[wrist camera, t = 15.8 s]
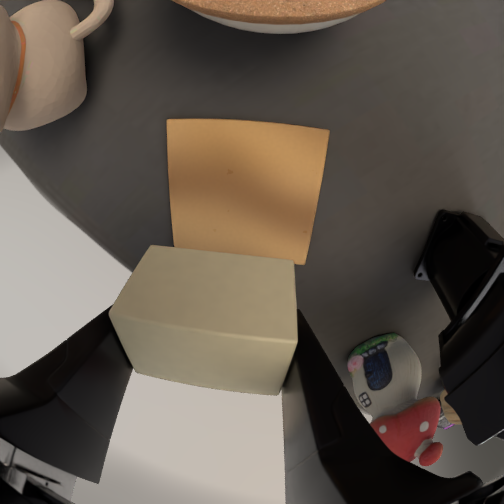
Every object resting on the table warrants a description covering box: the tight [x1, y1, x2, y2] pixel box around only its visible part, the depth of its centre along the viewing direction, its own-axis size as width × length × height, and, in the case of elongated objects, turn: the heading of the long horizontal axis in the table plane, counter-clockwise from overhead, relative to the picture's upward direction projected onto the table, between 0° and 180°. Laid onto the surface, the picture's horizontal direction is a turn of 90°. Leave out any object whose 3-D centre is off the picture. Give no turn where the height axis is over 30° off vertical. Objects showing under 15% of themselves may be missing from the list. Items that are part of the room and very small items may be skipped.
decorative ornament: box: [348, 333, 443, 466], centre depth 20 cm, size 9×7×15 cm
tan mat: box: [167, 118, 330, 265], centre depth 18 cm, size 10×10×1 cm
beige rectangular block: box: [109, 245, 298, 396], centre depth 9 cm, size 3×5×3 cm, turn 86°
